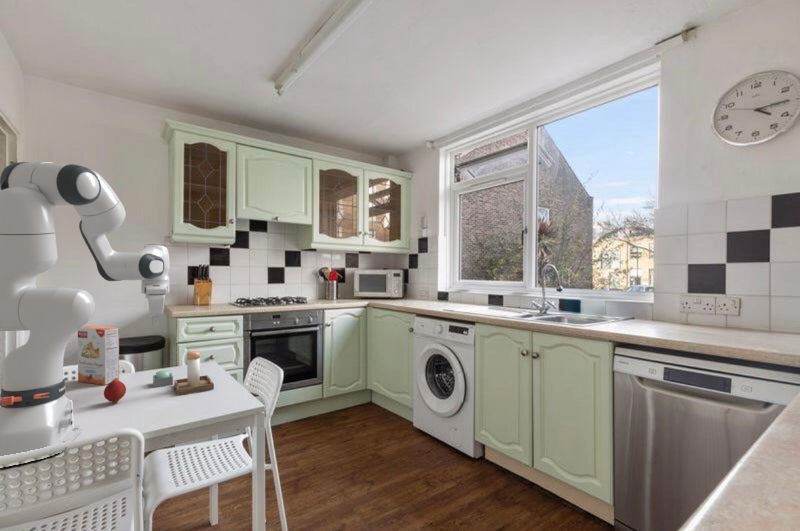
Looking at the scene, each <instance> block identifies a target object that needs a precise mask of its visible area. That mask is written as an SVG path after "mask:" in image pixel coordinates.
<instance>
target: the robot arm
mask: <svg viewBox="0 0 800 531" xmlns="http://www.w3.org/2000/svg"><path fill="white" fill-rule="evenodd" d="M55 206H72V207H73V208H74V209H75V211H76V212H77V214H78V215H79V216H80V221H79V226H78V227H79V231H80V234H81V237H82V238H83V241H84V242H85V245H86V246H87V248H88V250H89V252H90V254H91V256H92V257H93V260H94V261H95V265H96V269H97V272H98V274H99V275H100V276H101V277H102V278H103V279H104V280H106V281H108V282H117V281H141V283H140V284H141V285H140V286H141V291H140V292H141V294H144V295H145V299H147V301H148V311H149V314H150V316H151V320H152V321H151V322H152V327H158V326H159V321H160V320H159V319H160V316H162V315H163V313H164V309H165V301H166V295H167V294H169V293H170V289H171V288H170V282H171V281H170V280H171V279H170V276H169V272H170V269H171V266H170V265H171V263H170V252H169V249H168V247H167V246H164V245H162V244H156V243H149V244H145V245H144V246H143V249H141V250H139V251H137V252H119V251H117V250H114V249H113V248H112V246H111V244H110V242H109V240H108V238H107V236H106V235H107V234H109V233H112V232H114V231H115V230H117V229H119V227H121V226H122V224H124V222H125V219H126V216H127V214H126V213H127V212H126V210H125V206H124V205H123V203H122V202H121V200H120V198H119V197H118V195H117V193H116V192H115V191H114V189H113V188H112V187H111V186H110V184H109V183H108V182H107V181H106V180H105V178H103V177H102V175H101V174H100V173H98V172H97V171H95V170H94V169H93V170H92V169H90V168H88V167H85V166H83V165H79V164H71V163H70V164H66V163H59V162H51V161H32V162H31V161H30V162H29V161H21V162H20V161H19V162H15V163H11V164H9V165H7V166H6V167H5V168H3V170H2V171H1V174H0V332H15V331H16V332H17V331H19V332H20V331H21V332H22V331H24V332H25V331H29V336H28V338H27V341H26V343H25V344H23V345H20V346H19V347H16V348H14V349H12V350H11V351H10V352H9V353H7V355H6V356H5V357H4V359H3V362H2V373H3V374H2V375H3V376H2V382H3V384H2V385H3V386H2V388H1V390H0V456H4V455H10V454H16V453H21V452H27V451H30V450H35V449H40V448H44V447H47V446H52V445H56V444H61V443H65V442H69V441H72V442H74V440H75V439H76V438H77V437H78V435H79V434H80V433H81V432H82V431H83V427H82V426H81V425H74V408H73V406H74V405H73V402H74V401H73V400H72V399H70V398H68V397H67V396H66V395H65V394H66V387H67V386H66V385H67V384H66V380H65V379H64V378H63V377H64V360H65V359H64V358H65V352H66V349H67V345H68V344H69V341H70V340H71V339H72V337H74V336H73V335H74V334H75V333H76V332H78V329H80V328H81V327H85V325H87V324H88V323H89V322H90V321H91V320H92V318H93V317H94V315H95V313H96V302H95V298H94V297H93V296H92V294H91V293H90V292H89V291H88V290H85V289H81V288H76V287H67V286H46V287H45V286H42V287H41V286H40V287H39V286H37V285H36V284H37V278H38V276H39V275H40V274H42V273H44V272H47V271H48V270H51V269H52V268H54V267H55V265H56V264H57V261H58V259H59V257H58V256H59V255H58V245H57V236H56V228H55V220H54V217H53V210H54V209H55Z"/></svg>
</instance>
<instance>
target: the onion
mask: <svg viewBox="0 0 800 531" xmlns="http://www.w3.org/2000/svg"><path fill="white" fill-rule="evenodd" d="M105 386H106V387H105V388H104V390H103V397H104V398H105V400H107V401H108V402H111V403H114V404H116V403H118V402H119V401H120V400H121V399H123V398H124V396H125V395H126V393H127V387H126V384H124V383H123V382H122V381H121V380H119V381H118V378H114V379H113V381H112V382H110V383H109V384H107V385H105Z"/></svg>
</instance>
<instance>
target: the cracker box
mask: <svg viewBox="0 0 800 531" xmlns="http://www.w3.org/2000/svg"><path fill="white" fill-rule="evenodd" d="M114 378H118V381H120V328H119V327H116V326H115V327H114V326H105V325H104V326H103V325H87V326H85V325H84V326H82V327H81V328H80V329H78V330H77V380H78V381H77V382H78V383H79V382H80V383H85V384H93V383H94V385H99V386H100V385H101V386H107V385H108V384H109V383H110V382H112V381H113V379H114Z"/></svg>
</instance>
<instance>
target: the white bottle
mask: <svg viewBox="0 0 800 531" xmlns="http://www.w3.org/2000/svg"><path fill="white" fill-rule="evenodd" d="M186 359H187V360H186V361H187V364H186V365H187V368H186V369H187V386H188V387H195V386H199V385H200V376H201V368H200V367H201V351H200V350H194V351H193V350H192V351H191V350H190V351H188V352H186Z"/></svg>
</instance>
